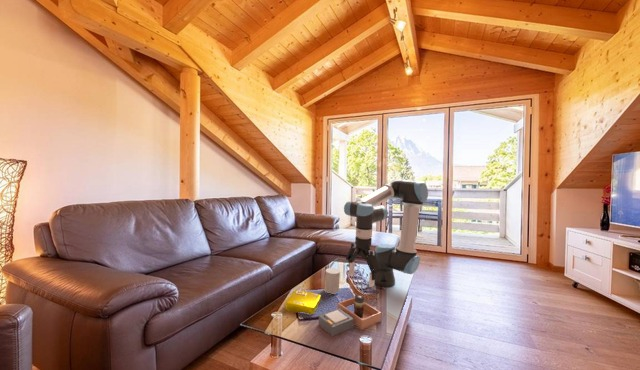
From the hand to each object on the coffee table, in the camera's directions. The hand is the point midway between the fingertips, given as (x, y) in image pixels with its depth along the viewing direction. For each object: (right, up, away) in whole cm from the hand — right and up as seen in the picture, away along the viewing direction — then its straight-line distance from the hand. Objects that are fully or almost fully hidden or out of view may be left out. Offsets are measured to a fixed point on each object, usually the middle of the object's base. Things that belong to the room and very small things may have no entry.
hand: (361, 280), depth 133 cm
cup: (-13, -15, +26) cm, 33 cm away
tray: (-1, -18, +1) cm, 18 cm away
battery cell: (-1, -17, +1) cm, 18 cm away
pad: (-12, -17, -7) cm, 22 cm away
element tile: (-28, -17, +9) cm, 34 cm away
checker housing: (-12, -18, -7) cm, 23 cm away
